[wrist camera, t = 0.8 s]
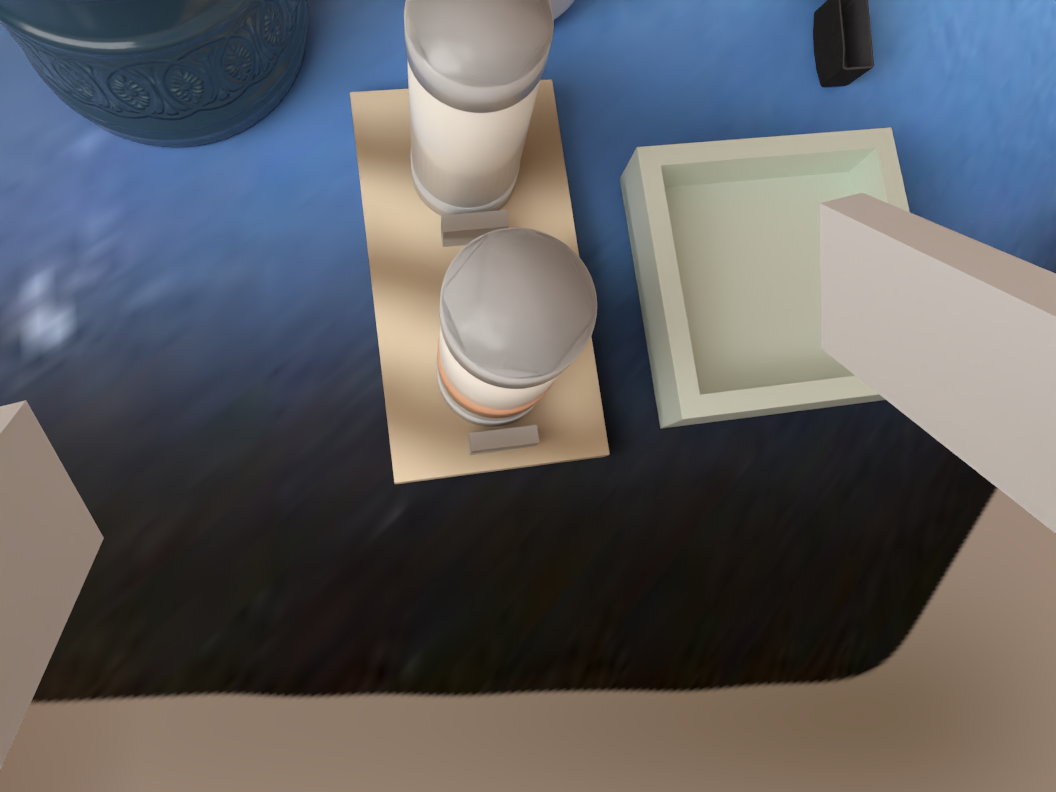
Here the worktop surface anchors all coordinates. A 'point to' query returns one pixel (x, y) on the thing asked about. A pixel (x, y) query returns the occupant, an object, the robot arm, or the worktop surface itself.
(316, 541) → the worktop surface
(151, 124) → the canister
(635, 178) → the tray
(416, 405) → the block
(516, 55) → the fuse
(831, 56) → the lighter
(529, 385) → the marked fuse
